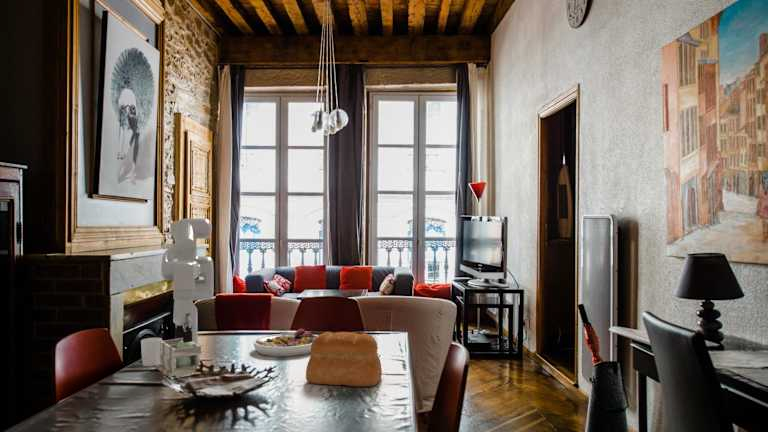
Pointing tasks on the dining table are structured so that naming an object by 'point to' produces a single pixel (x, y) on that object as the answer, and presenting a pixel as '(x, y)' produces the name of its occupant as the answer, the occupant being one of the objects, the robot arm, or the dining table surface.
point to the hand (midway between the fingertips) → (183, 339)
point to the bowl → (285, 344)
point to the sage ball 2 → (183, 362)
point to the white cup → (150, 351)
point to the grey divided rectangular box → (172, 353)
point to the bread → (344, 360)
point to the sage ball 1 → (184, 345)
